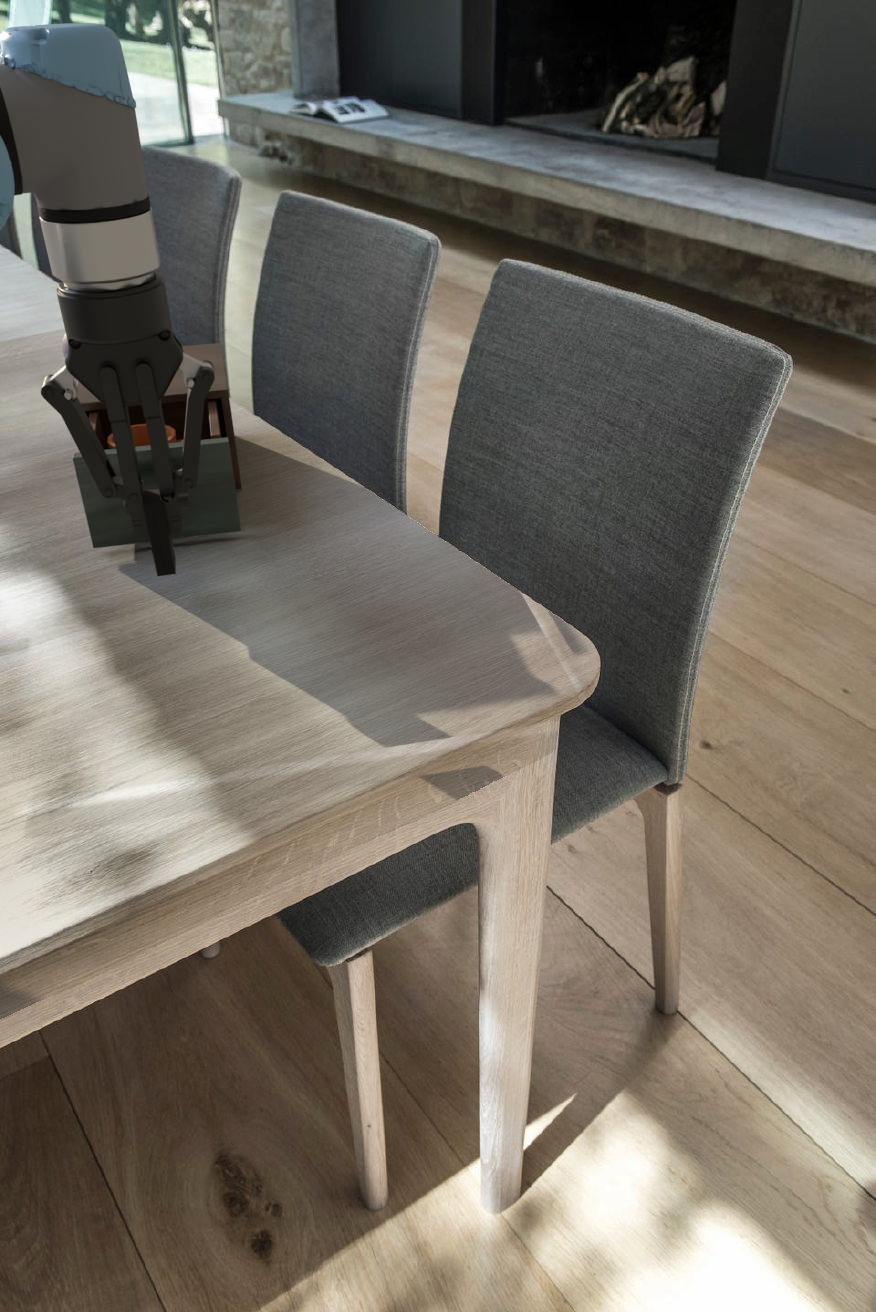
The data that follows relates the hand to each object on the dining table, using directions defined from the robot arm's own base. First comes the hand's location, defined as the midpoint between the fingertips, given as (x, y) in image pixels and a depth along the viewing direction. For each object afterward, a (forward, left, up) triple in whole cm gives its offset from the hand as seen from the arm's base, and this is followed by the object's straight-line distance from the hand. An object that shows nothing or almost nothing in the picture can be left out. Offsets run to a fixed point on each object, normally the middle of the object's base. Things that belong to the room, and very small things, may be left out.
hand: (166, 567), depth 88 cm
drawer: (0, +14, -2) cm, 15 cm away
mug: (-1, +16, -1) cm, 16 cm away
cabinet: (0, +29, -3) cm, 29 cm away
